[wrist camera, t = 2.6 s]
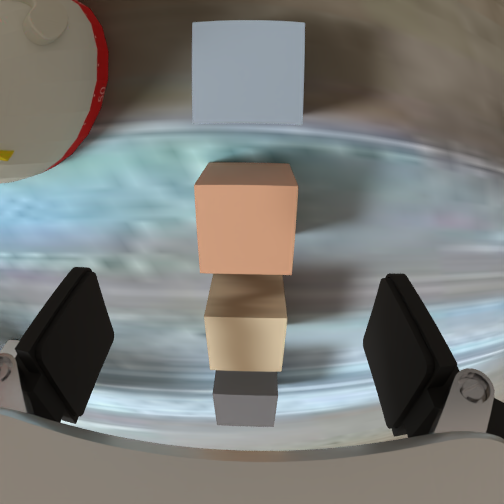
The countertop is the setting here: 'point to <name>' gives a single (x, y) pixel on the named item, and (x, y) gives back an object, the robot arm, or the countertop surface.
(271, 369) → the maple block
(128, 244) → the countertop surface
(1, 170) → the kitchen timer
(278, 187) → the terracotta block
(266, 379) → the charcoal block
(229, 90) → the slate block
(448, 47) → the countertop surface
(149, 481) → the robot arm
